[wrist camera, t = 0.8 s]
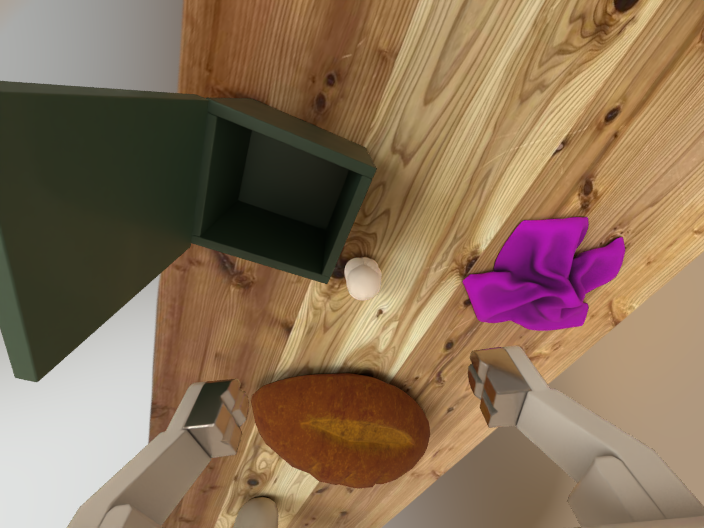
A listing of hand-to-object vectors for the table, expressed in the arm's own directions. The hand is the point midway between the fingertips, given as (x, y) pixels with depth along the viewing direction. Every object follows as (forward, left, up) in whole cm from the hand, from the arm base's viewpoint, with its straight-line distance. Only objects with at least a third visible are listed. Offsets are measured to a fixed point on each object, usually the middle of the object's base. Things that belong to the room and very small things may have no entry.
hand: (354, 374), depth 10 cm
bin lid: (-8, -7, -7) cm, 13 cm away
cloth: (+26, +16, -24) cm, 39 cm away
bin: (-4, -4, -24) cm, 25 cm away
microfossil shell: (+10, -4, -24) cm, 27 cm away
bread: (+33, -21, -24) cm, 46 cm away
